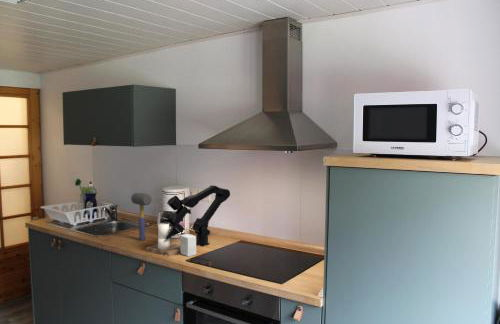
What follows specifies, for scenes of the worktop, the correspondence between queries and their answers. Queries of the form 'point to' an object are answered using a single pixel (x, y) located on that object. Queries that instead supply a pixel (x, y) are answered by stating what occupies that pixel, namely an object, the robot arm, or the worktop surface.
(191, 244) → the small box
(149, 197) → the rubber mallet
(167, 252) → the socket board
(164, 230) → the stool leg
